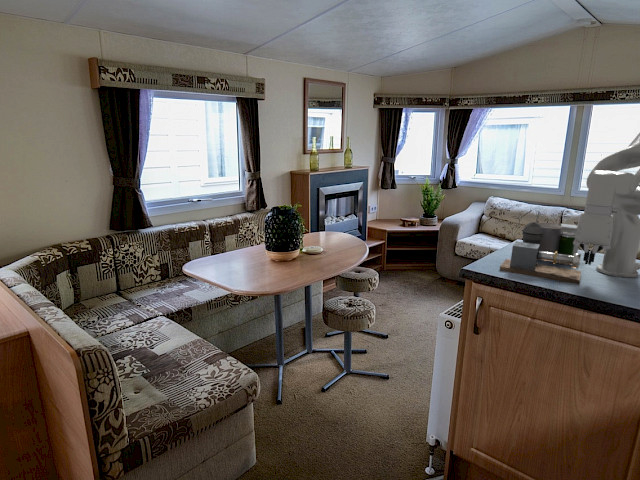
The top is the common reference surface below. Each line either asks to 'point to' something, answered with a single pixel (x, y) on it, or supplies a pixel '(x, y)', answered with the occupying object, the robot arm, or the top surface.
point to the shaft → (560, 258)
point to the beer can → (566, 244)
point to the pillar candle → (550, 237)
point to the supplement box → (573, 230)
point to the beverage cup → (532, 232)
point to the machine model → (536, 265)
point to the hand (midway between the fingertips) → (587, 263)
